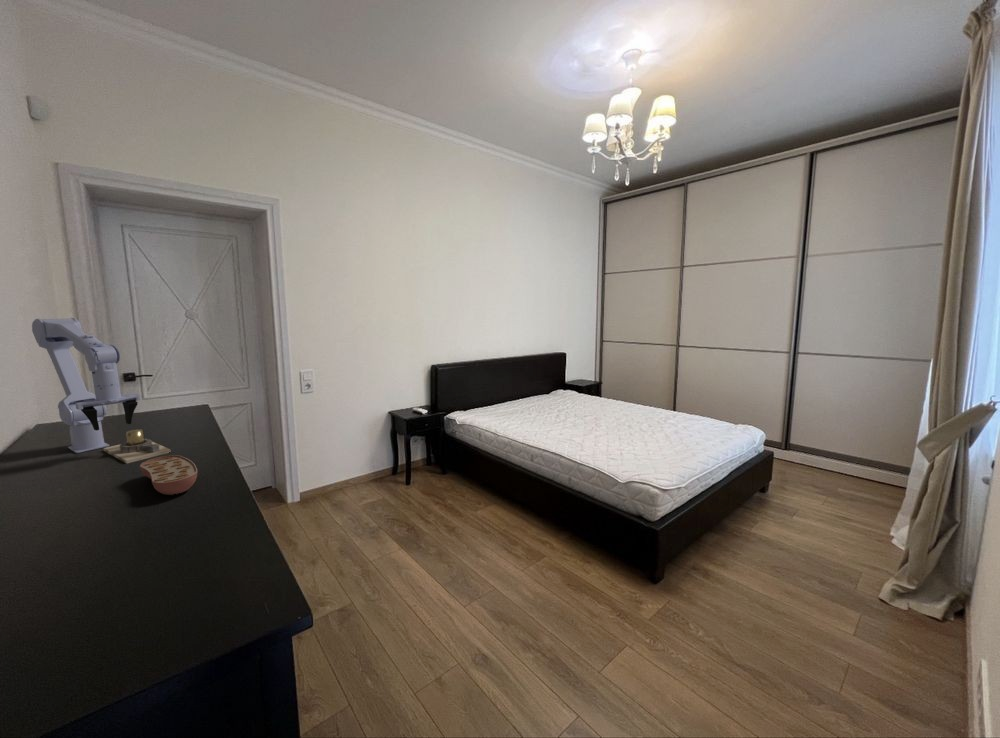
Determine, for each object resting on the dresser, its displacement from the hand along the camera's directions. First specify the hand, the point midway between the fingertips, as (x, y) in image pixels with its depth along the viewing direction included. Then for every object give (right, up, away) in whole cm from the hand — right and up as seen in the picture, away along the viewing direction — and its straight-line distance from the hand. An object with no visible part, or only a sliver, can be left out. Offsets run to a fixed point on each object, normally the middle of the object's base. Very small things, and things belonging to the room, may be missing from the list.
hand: (113, 426), depth 126 cm
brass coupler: (+4, -8, +4) cm, 10 cm away
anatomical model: (+35, -13, -19) cm, 42 cm away
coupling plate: (+4, -9, +4) cm, 10 cm away
